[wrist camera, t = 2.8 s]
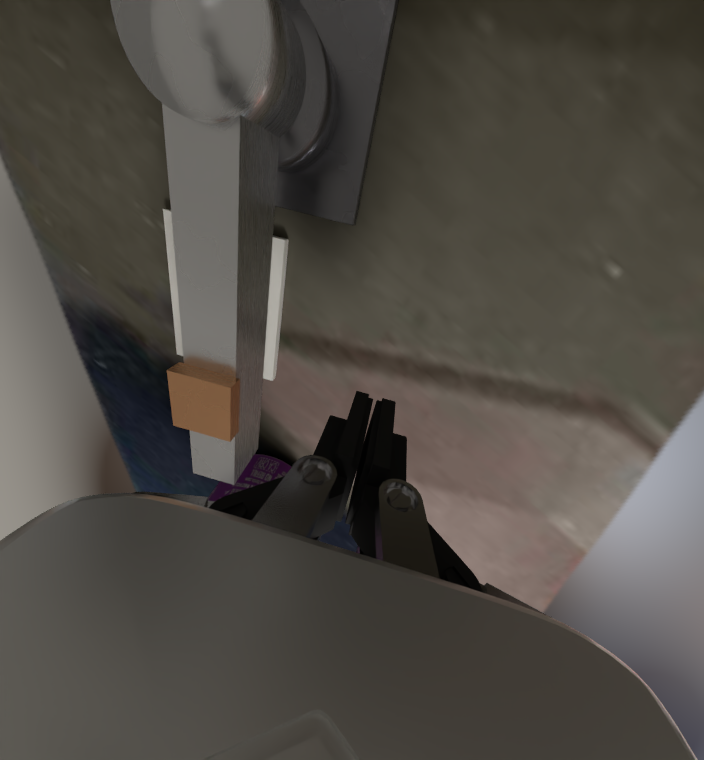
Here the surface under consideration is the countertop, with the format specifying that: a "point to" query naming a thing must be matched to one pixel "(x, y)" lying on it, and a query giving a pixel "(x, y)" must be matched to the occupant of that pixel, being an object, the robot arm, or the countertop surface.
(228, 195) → the grey long bar
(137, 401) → the countertop surface
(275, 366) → the label plate
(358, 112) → the pivot pedestal
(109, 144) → the countertop surface
